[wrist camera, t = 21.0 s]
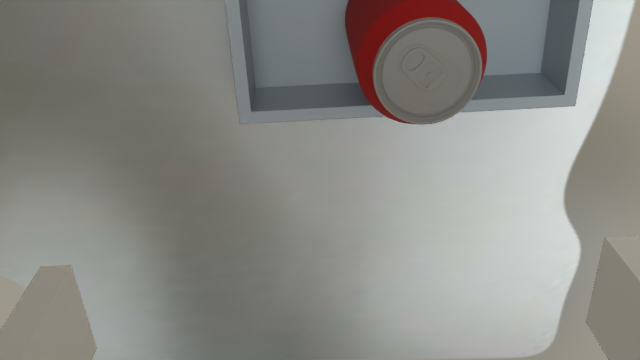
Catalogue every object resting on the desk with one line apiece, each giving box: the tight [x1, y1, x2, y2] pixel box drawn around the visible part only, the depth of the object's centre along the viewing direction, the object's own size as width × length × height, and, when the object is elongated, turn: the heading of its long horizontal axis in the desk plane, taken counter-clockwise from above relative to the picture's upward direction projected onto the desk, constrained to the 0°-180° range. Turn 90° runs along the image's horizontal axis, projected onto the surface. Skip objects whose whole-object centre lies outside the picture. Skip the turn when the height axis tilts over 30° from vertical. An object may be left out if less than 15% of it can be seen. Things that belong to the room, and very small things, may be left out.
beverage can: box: [345, 0, 487, 124], centre depth 34 cm, size 7×7×12 cm
